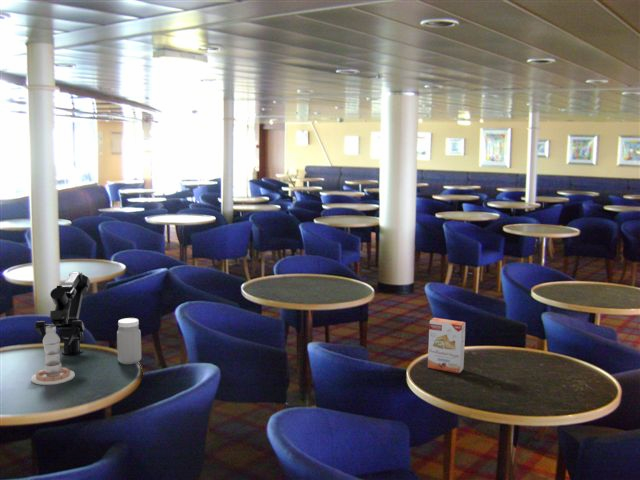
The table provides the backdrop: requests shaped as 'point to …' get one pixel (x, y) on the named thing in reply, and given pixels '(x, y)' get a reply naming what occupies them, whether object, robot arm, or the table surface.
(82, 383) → the table surface
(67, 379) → the white orange plate
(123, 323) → the jar
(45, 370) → the plastic bottle
